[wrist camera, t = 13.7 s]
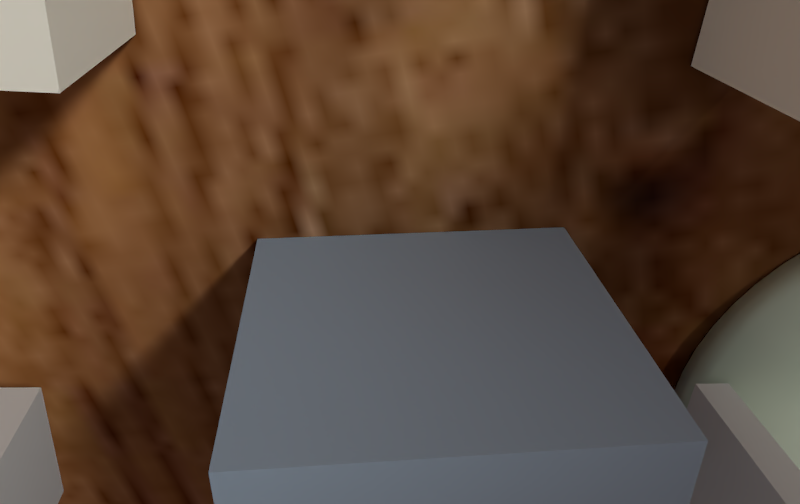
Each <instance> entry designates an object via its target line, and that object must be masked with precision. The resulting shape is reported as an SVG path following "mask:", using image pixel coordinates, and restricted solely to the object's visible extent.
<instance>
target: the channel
mask: <svg viewBox="0 0 800 504" xmlns="http://www.w3.org/2000/svg"><path fill="white" fill-rule="evenodd" d="M134 35H136V33H135V23H134V14H133V5H132V0H0V91H20V92H41V93H61V92H62V91H64V90H65V89H66V88H67V87H69V86H70V85H71V84H73V83H74V82H75V81H76V80H78V79H79V78H80V77H82V76H83V75H84V74H85V73H87V72H88V71H89V70H91V69H92V68H93V67H94V66H96V65H97V64H98V63H100V62H101V61H102V60H103V59H105V58H106V57H107V56H109V55H110V54H111V53H112V52H114V51H115V50H116V49H118V48H119V47H120V46H121V45H123V44H124V43H125V42H127V41H128V40H129V39H130V38H132V37H133V36H134ZM691 66H692V67H694V68H695V69H697V70H699V71H701V72H703V73H705V74H707V75H709V76H711V77H713V78H715V79H717V80H719V81H721V82H723V83H725V84H727V85H729V86H731V87H733V88H735V89H737V90H739V91H741V92H743V93H745V94H747V95H749V96H751V97H753V98H755V99H756V100H758V101H760V102H762V103H764V104H766V105H768V106H770V107H772V108H774V109H776V110H778V111H780V112H782V113H784V114H786V115H788V116H790V117H792V118H794V119H796V120H798V121H800V0H709V2H708V6H707V9H706V13H705V16H704V20H703V24H702V27H701V31H700V35H699V38H698V42H697V46H696V49H695V53H694V56H693V60H692V64H691Z"/></svg>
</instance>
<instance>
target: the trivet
mask: <svg viewBox="0 0 800 504" xmlns="http://www.w3.org/2000/svg"><path fill="white" fill-rule="evenodd" d="M715 383H729V384H730V386H731V387H732V388H733V389H734V391H735V392H736V393H737V394H738V395H739V397H740V398H741V399H742V400H743V402H744V403H745V404H746V405H747V406H748V408H749V409H750V410H751V411H752V413H753V414H754V415H755V416H756V417H757V419H758V420H759V421H760V422H761V423H762V425H763V426H764V427H765V428H766V430H767V431H768V432H769V433H770V434H771V436H772V437H773V438H774V439H775V441H776V442H777V443H778V444H779V445H780V447H781V448H782V449H783V450H784V452H785V453H786V454H787V455H788V456H789V458H790V459H791V460H792V461H793V462H794V464H795V465H796V466H797V467H798V469H799V470H800V254H799V255H797V256H795V257H794V258H792V259H790V260H789V261H787V262H785V263H784V264H782V265H781V266H780V267H778V268H777V269H775V270H774V271H773V272H771V273H770V274H769V275H767V276H766V277H765V278H763V279H762V280H761V281H759V282H758V283H756V284H755V285H754V286H753V287H752V288H751V289H750V290H749V291H747V292H746V293H745V294H744V295H743V296H742V297H741V298H740V299H738V300H737V301H736V302H735V303H734V304H733V305H732V306H731V307H730V308H729V309H728V310H727V311H726V312H725V314H724V315H723V316H722V317H721V318H720V319H719V320H718V321H717V322H716V323H715V324H714V325H713V327H712V328H711V329H710V330H709V332H708V333H707V335H706V336H705V337H704V339H703V340H702V341H701V343H700V344H699V345H698V347H697V348H696V349H695V351H694V353H693V354H692V356H691V358H690V360H689V361H688V363H687V365H686V366H685V368H684V370H683V372H682V374H681V376H680V378H679V381H678V383H677V386H676V388H675V390H674V391H675V392H676V394H677V395H678V397H679V398H680V400H681V401H682V403H683V404H684V406H685V407H686V409H687V407H688V404H689V401H690V398H691V395H692V392H693V390H694V387H695V384H715Z"/></svg>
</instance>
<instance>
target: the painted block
mask: <svg viewBox="0 0 800 504" xmlns="http://www.w3.org/2000/svg"><path fill="white" fill-rule="evenodd" d="M707 443H708V440H707V438H706V437H705V435H704V434H703V432H702V431H701V429H700V428H699V427H698V425H697V424H696V422H695V421H694V419H693V418H692V416H691V415H690V413H689V412H688V410H687V409H686V407H685V406H684V404H683V403H682V401H681V400H680V398H679V397H678V395H677V394H676V392H675V391H674V389H673V388H672V387H671V385H670V384H669V382H668V381H667V379H666V378H665V376H664V375H663V373H662V372H661V370H660V369H659V367H658V366H657V364H656V363H655V361H654V360H653V358H652V357H651V355H650V354H649V352H648V351H647V349H646V348H645V347H644V345H643V344H642V342H641V341H640V339H639V338H638V336H637V335H636V333H635V332H634V330H633V329H632V327H631V326H630V324H629V323H628V321H627V320H626V318H625V317H624V315H623V314H622V312H621V311H620V309H619V308H618V307H617V305H616V304H615V302H614V301H613V299H612V298H611V296H610V295H609V293H608V292H607V290H606V289H605V287H604V286H603V284H602V283H601V281H600V280H599V278H598V277H597V275H596V274H595V272H594V271H593V269H592V268H591V267H590V265H589V264H588V262H587V261H586V259H585V258H584V256H583V255H582V253H581V252H580V250H579V249H578V247H577V246H576V244H575V243H574V241H573V240H572V238H571V237H570V235H569V234H568V232H567V231H566V229H565V228H564V227H559V228H532V229H506V230H480V231H453V232H427V233H400V234H374V235H347V236H321V237H294V238H268V239H257V243H256V248H255V253H254V258H253V262H252V267H251V272H250V277H249V281H248V286H247V291H246V296H245V300H244V305H243V310H242V315H241V319H240V324H239V329H238V334H237V339H236V343H235V348H234V353H233V358H232V362H231V367H230V372H229V377H228V381H227V386H226V391H225V396H224V400H223V405H222V410H221V415H220V419H219V424H218V429H217V434H216V438H215V443H214V448H213V453H212V458H211V462H210V467H209V472H208V474H209V479H210V485H211V490H212V495H213V501H214V504H690V500H691V497H692V494H693V490H694V487H695V484H696V480H697V477H698V473H699V470H700V467H701V463H702V460H703V457H704V453H705V450H706V447H707Z"/></svg>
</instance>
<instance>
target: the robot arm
mask: <svg viewBox="0 0 800 504" xmlns="http://www.w3.org/2000/svg"><path fill="white" fill-rule="evenodd" d="M687 410H688V412H689V413H690V415H691V416H692V418H693V419H694V421H695V422H696V424H697V425H698V427H699V428H700V429H701V431H702V432H703V434H704V435H705V437H706V438H707V440H708V443H707V447H706V450H705V453H704V457H703V460H702V463H701V467H700V470H699V473H698V477H697V480H696V484H695V487H694V490H693V494H692V497H691V500H690V504H800V470H799V469H798V467H797V466H796V465H795V464H794V462H793V461H792V460H791V459H790V458H789V456H788V455H787V454H786V453H785V452H784V450H783V449H782V448H781V447H780V445H779V444H778V443H777V442H776V441H775V439H774V438H773V437H772V436H771V434H770V433H769V432H768V431H767V430H766V428H765V427H764V426H763V425H762V423H761V422H760V421H759V420H758V419H757V417H756V416H755V415H754V414H753V413H752V411H751V410H750V409H749V408H748V406H747V405H746V404H745V403H744V402H743V400H742V399H741V398H740V397H739V395H738V394H737V393H736V392H735V391H734V389H733V388H732V387H731V386H730V384H729V383H715V384H695V387H694V390H693V392H692V395H691V398H690V401H689V404H688V407H687ZM63 491H64V490H63V485H62V481H61V476H60V471H59V467H58V462H57V458H56V453H55V449H54V444H53V439H52V435H51V430H50V426H49V421H48V417H47V412H46V408H45V403H44V398H43V394H42V389H41V387H28V388H0V504H58V503H59V500H60V498H61V496H62V493H63Z"/></svg>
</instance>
